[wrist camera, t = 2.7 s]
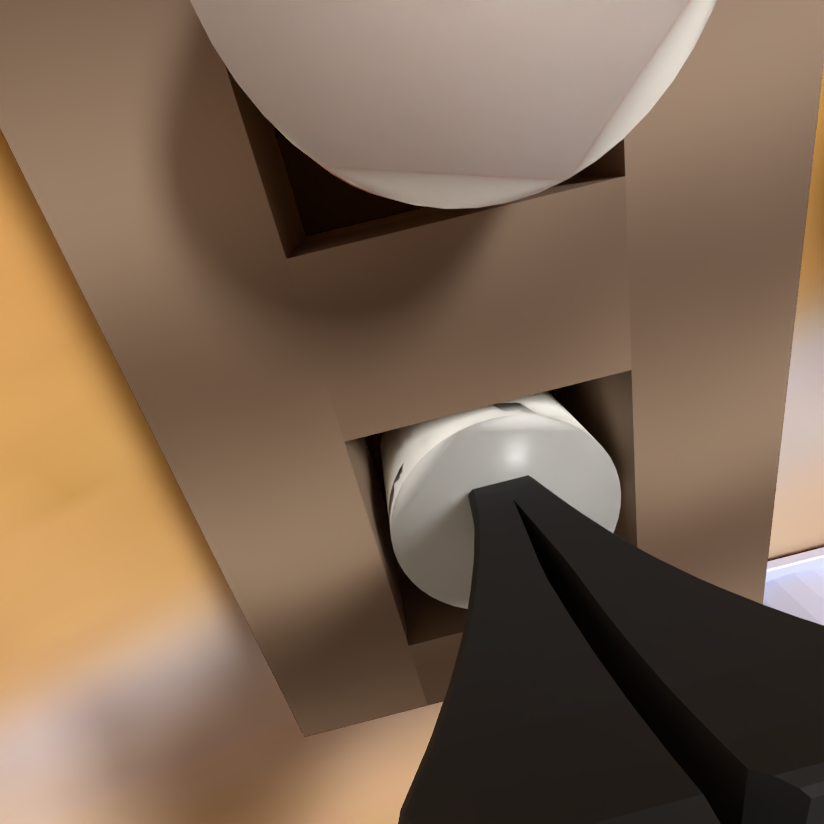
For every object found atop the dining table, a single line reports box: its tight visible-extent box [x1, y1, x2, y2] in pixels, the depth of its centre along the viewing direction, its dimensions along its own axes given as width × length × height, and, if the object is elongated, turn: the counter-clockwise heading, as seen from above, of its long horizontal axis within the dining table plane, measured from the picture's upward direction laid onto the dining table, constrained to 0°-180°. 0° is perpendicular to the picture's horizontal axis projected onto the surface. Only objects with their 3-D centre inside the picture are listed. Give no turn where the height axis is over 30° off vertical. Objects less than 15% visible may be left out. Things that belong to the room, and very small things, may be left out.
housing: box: [0, 0, 824, 737], centre depth 11 cm, size 19×12×4 cm, turn 12°
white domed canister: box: [381, 391, 621, 609], centre depth 12 cm, size 5×5×4 cm
